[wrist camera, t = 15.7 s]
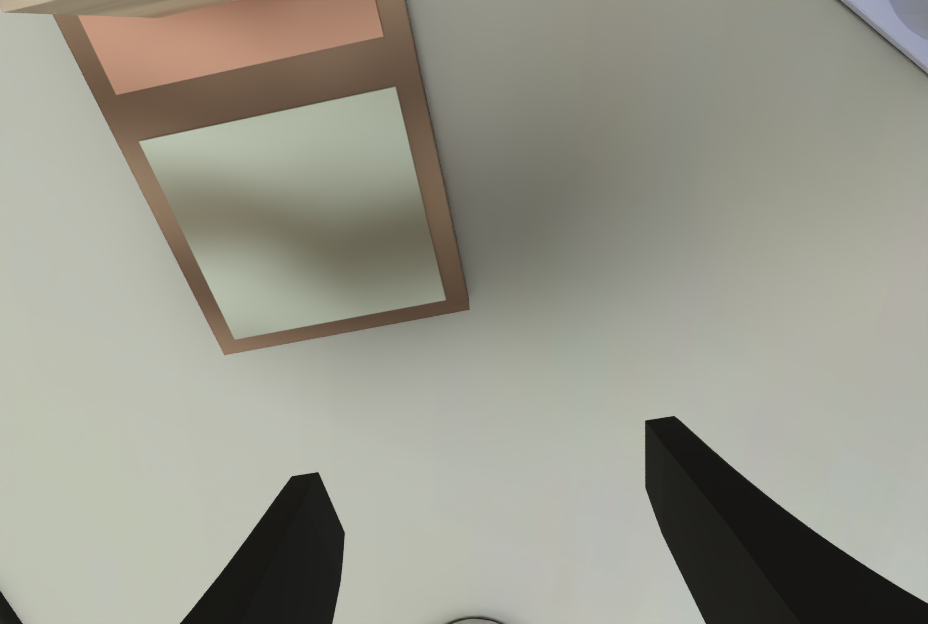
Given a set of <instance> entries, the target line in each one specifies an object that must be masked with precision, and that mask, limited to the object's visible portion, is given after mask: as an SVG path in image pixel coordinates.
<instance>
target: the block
mask: <svg viewBox="0 0 928 624" xmlns="http://www.w3.org/2000/svg"><path fill="white" fill-rule="evenodd" d="M232 1H236V0H0V7H1V8H2V10H3V12H9V13H36V14H62V15H89V16H116V17H143V18H162V17H166V16H171V15H175V14H180V13H184V12H188V11H193V10H197V9H201V8H206V7H210V6H215V5H219V4H223V3H228V2H232Z"/></svg>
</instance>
